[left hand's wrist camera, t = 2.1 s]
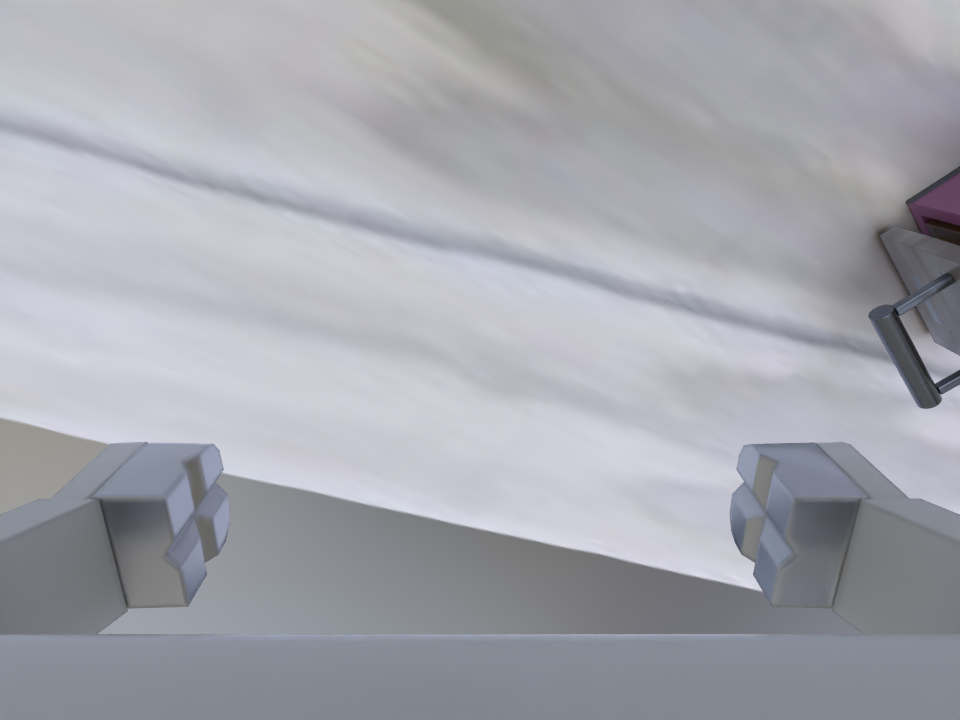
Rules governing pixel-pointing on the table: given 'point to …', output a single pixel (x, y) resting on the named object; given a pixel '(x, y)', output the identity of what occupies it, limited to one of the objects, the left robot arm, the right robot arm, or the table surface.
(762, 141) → the table surface
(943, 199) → the pink storage box
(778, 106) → the table surface
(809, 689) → the left robot arm
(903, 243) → the drawer
